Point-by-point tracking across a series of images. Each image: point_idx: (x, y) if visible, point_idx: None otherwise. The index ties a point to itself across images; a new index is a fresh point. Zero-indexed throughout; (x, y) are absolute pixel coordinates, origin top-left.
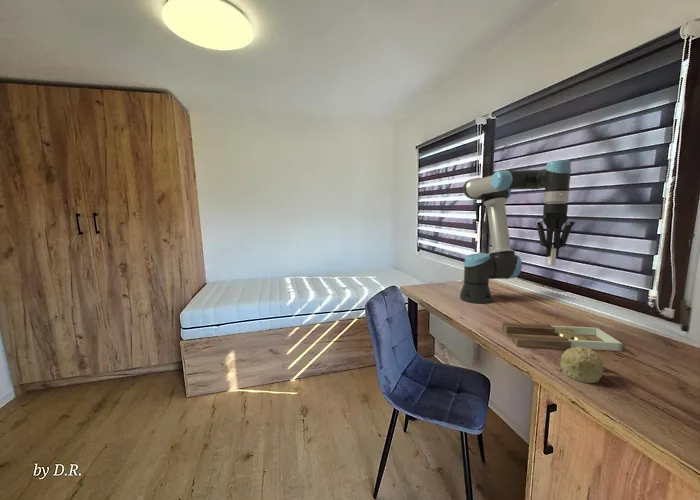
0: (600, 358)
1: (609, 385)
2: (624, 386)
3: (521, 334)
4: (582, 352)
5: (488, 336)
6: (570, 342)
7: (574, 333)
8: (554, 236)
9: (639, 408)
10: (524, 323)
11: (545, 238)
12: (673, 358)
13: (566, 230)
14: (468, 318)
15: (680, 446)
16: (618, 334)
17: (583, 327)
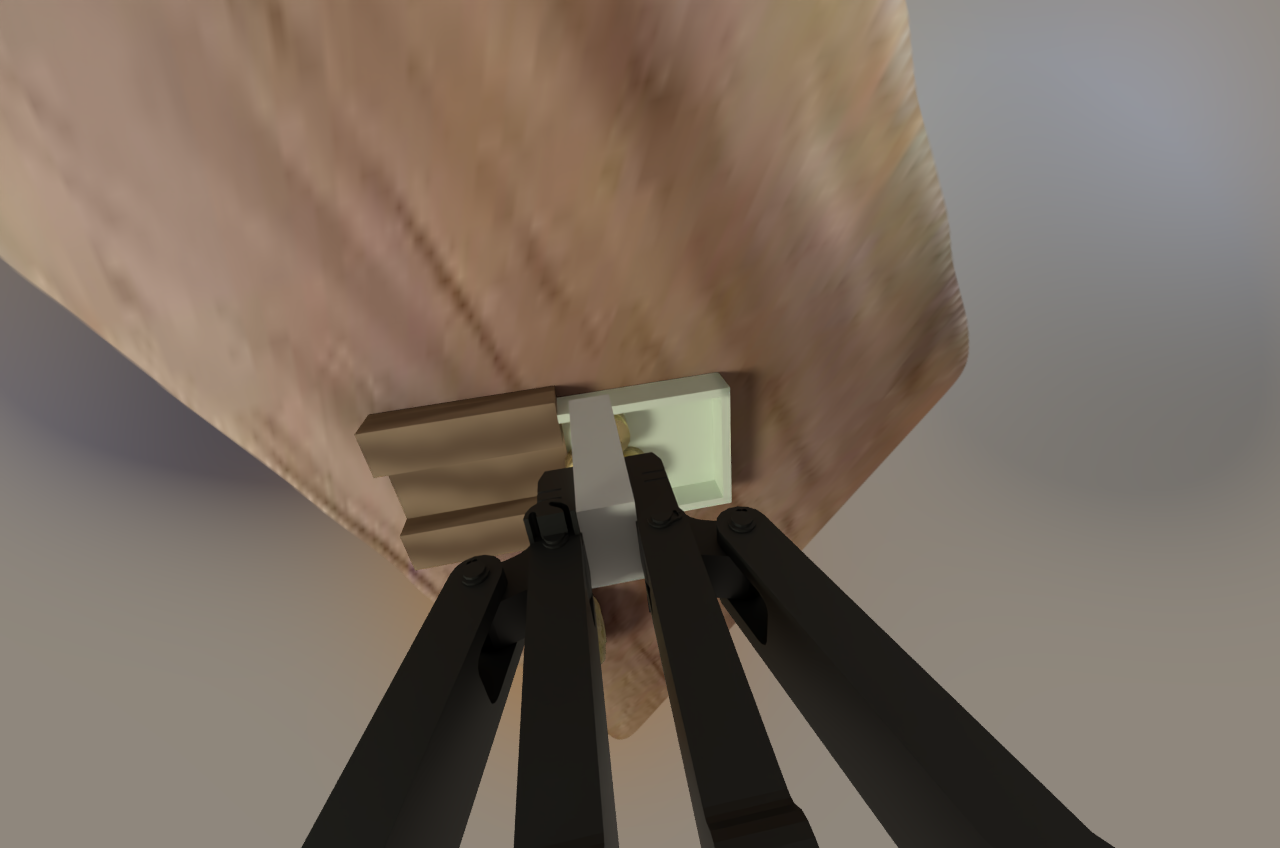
0: (601, 662)
1: (608, 630)
2: (636, 624)
3: (431, 530)
4: None
5: (319, 480)
6: None
7: (627, 444)
8: (671, 682)
9: (623, 674)
10: (450, 422)
11: (485, 752)
12: (839, 467)
13: (899, 846)
14: (166, 291)
15: (629, 725)
16: (812, 321)
17: (678, 399)
